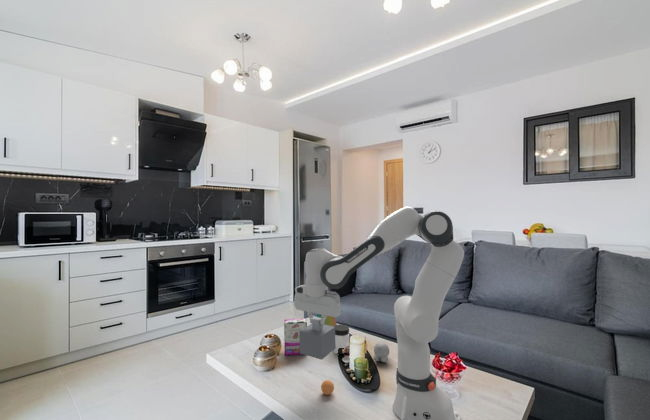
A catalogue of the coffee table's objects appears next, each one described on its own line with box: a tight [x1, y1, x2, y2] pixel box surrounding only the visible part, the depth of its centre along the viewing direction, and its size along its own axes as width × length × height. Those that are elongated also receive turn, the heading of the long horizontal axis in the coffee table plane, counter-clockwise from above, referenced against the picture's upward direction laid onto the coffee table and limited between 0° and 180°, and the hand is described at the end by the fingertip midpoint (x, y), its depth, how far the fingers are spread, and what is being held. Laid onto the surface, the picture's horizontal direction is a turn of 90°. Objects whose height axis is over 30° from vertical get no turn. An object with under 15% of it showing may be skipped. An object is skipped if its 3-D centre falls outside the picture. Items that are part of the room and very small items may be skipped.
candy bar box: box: [283, 318, 308, 357], centre depth 152 cm, size 11×5×16 cm, turn 97°
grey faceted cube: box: [299, 316, 336, 360], centre depth 121 cm, size 10×10×13 cm
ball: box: [320, 379, 335, 396], centre depth 118 cm, size 5×5×5 cm
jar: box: [332, 324, 350, 355], centre depth 154 cm, size 9×8×12 cm
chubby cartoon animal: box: [372, 341, 390, 363], centre depth 146 cm, size 7×12×8 cm, turn 155°
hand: (317, 323), depth 121 cm, fingers closed on grey faceted cube, 3 cm apart
